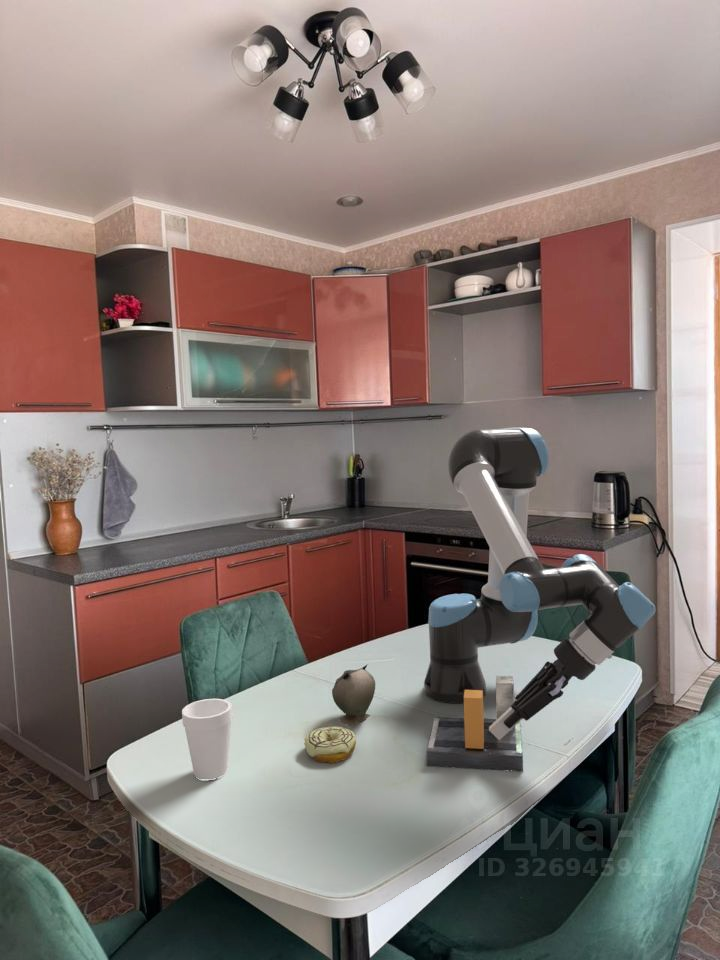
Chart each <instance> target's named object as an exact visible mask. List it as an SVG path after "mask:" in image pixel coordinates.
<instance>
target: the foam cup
mask: <svg viewBox="0 0 720 960" xmlns="http://www.w3.org/2000/svg"><path fill="white" fill-rule="evenodd" d="M181 717H182V719H181V720H182V725H183V727H184V730H185V736H186V740H187V745H188V750H189V755H190V756H189V757H190V760H191V761H190V762H191V765H192V770H193V776H194V775H195V776H196V777H197V778H199V779H214V778H218V777H220V776H222V775H224V774H225V773H226V771H227V772H228V769H229V758H230V757H229V756H230V745H231V744H230V742H231V728H232V719H233V718H234V717H233V706H232V702H230V701H229V700H227V699H224V698H223V699H222V698H207V699H201V700H196V701H192V702H191V703H189V704H186V705H185V706H184V707H183V708H182V710H181ZM226 774H227V773H226ZM195 776H194V777H195Z"/></svg>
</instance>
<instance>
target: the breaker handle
mask: <svg viewBox="0 0 720 960" xmlns="http://www.w3.org/2000/svg"><path fill="white" fill-rule="evenodd" d="M463 714H464V715H463V718H464V724H465V748H475V749H484V719H485V718H484V696H483V690H465V691H464V703H463Z"/></svg>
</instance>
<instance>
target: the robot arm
mask: <svg viewBox="0 0 720 960" xmlns="http://www.w3.org/2000/svg"><path fill="white" fill-rule="evenodd" d="M546 443H547V442H546V441H545V440H544V438H543V436H542V435H541V434H540V432H539V431H537V430H535V429H534V428H531V427H530V428H529V427H517V426H516V427H503V428H489V429H484V428H482V429H475V430H470V431H468V432H466V433H464V434H463V435H462V436H460V437H459V438H458V440H456V442H455V443H454V445H453V446H452V449H451V451H450V453H449V457H448V465H447V466H448V475H449V478H450V481H451V483H452V485H453V487H454V489H455V490H456V492H458V493H459V494H462V495H463V498H464V499H465V501H466V503H467V504H468V507H469V509H470V511H471V513H472V515H473V517H474V519H475V521H476V522H477V523H476V524H477V525H478V526H479V528H480V531H481V533H482V535H483V537H484V538H485V540H486V543H487V545H488V547H489V553H488V557H489V559H488V576H487V577H488V578H487V583H486V584H484V585H483V586H482V588H481V589H480V590H481V593H480V594H481V595H480V598H476V596H475V595H473V594H470V593H453V594H452V593H451V594H447V595H443V596H440V597H438V598H436V599H434V600H433V601H432V602H431V603H430V605H429V607H428V618H427V619H428V620H427V623H428V633H429V634H428V635H429V659H430V660H429V664H428V666H427V667H428V668H427V671H426V675H425V677H424V681H423V690H424V694H425V696H427V697H428V698H429V699H432V700H433V701H434V700H435V701H437V702H441V703H447V704H448V703H449V704H464V691H465V690H483V697H485V696H486V693H487V683H486V680H485V677H484V674H483V671H482V668H481V666H480V662H479V655H478V654H479V653H478V652H479V650H478V648H482V647H483V648H485V647H491V646H500V645H505V644H511V645H512V644H516V643H518V642H523V641H526V640H528V639H530V638H531V637H532V636H533V635H534V633H535V631H536V629H537V627H538V620H539V619H538V618H539V615H538V613H539V612H538V611H539V610H541V611H542V610H546V609H553V608H563V607H573V606H580V605H582V606H583V607H584V608H585V609H586V610H587V611H588V612H589V613H590V614H589V615H588V616H587V617H586V618H585V619H584V620H583V621H581V623H580V624H578V625H577V626H576V627H575V628H574V629H573V630H572V631H571V632H569V634H568V635H569V638H568V637H567V638H566V637H565V638H564V639H563V640H561V641H560V642H559V644H557V646H555V647H554V649H553V653H554V655H555V657H556V660H554V661H553V662H550V661H546V662H545V663H544V665H543V666H542V667H541V668H540V670H539V671H538V672H537V673H536V675H534V677H533V678H532V679H531V680H530V681H529V682H528V683H527V684H526V685H525V686H524V687H523V688H522V689H521V691H519V692H518V694H517V695H516V696H515V699H516V700H514V703H513V704H512V705H511V707H510V708H509V709H508V710H507V711H506V712H505V713H503V714H502V715H501V716H500V717H499V718H498V719H497V718H496V719H497V720H496V721H495V722H494V723H493V724H492V725H491V726H490V727H489V731H490V732H491V733H492V734H493V735H494V736H495V737H496V738H497V739H498V740H500V739H501V738H502V737H503V736H505V735H506V734H507V733H508V732H509V731H510V730H511V729H512V728H513V727H514V726H515V725H516V724H518V723H519V722H520V723H521V721H523V720H524V721H526V722H527V721H529V720H530V719H531V718H532V717H534V716H535V715H536V714H538V713H539V712H540V711H542V710H543V709H545V707H547V706H548V705H550V704H551V703H552V702H553V701H555V700H557V699H558V698H561V697H562V696H563V694H564V691H563V689H565V687H567V686H568V684H569V681H570V680H571V679H572V678H574V677H575V678H577V679H578V680H580V681H584V680H585V679H587V678H588V677H589V676H590V675H591V674H592V673H593V672H594V671H595V670H596V665H597V666H598V665H599V666H601V664H602V663H604V661H606V660H607V659H612V657H613V655H612V654H613V653H614V652H615V651H616V650H617V649H619V648H620V646H622V645H623V644H624V643H625V642H626V641H627V640H628V639H629V638H630V637H633V635H635V633H637V632H638V631H639V630H640V629H643V627H644V625H645V624H646V623H648V621H649V620H650V619H651V618H652V617H653V616H654V615H655V613H656V609H657V608H656V606H655V604H654V603H653V601H651V600H650V599H649V597H647V596H646V595H644V594H643V592H642V591H641V590H640V589H639V588H638V587H636V586H635V585H634V584H633V583H631V582H629V581H626V582H623V583H622V584H621V585H619V584H618V583H617V582H616V581H615V580H614V579H613V578H612V576H610V575H609V574H608V573H607V571H606V570H605V569H604V568H603V567H602V566H601V564H599V563H598V562H597V561H595V560H594V559H593V558H592V557H591V556H589V555H587V554H584V553H583V554H582V553H579V554H575V555H573V557H568V558H567V559H566V560H565V561H564V562H563V563H562V565H561V567H552V568H544V566H543V564H542V563H541V562H540V559H539V558H538V556H537V554H536V552H535V550H534V549H533V547H532V544H531V543H530V541H529V539H528V538H527V535H528V518H529V517H528V516H529V502H530V500H529V499H530V492H531V491H533V490H534V489H535V488H536V487H537V481H538V480H537V478H538V477H541V476H542V475H544V474H545V473H546V471H547V470H548V467H549V462H550V458H549V450H548V446H547V444H546Z"/></svg>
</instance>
